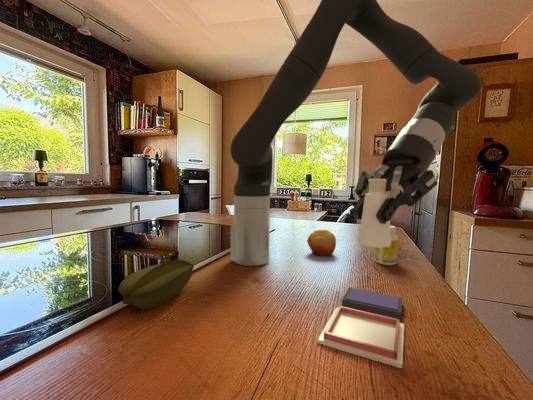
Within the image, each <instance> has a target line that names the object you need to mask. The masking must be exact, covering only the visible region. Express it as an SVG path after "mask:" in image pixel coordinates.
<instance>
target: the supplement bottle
mask: <svg viewBox="0 0 533 400" xmlns="http://www.w3.org/2000/svg"><path fill="white" fill-rule="evenodd" d="M390 229H391V245H390V247H381V248H378V247H374V256H373V257H374V261H375V263H377V264H380V265H384V266H385V265H387V266H394V265H396V264H397V262H398V261H397V259H398V246H399V245H398V244H399V243H398V242H399V237H398V235H397V234H395V233H396V230H397V228H396V226H395V225H390Z"/></svg>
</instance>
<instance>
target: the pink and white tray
mask: <svg viewBox="0 0 533 400" xmlns="http://www.w3.org/2000/svg"><path fill="white" fill-rule="evenodd" d="M404 333H405V323H401V320H400V319H395V318H391V317H387V316H382V315H378V314H374V313H369V312H365V311H360V310H356V309H352V308H347V307H343V306H342V305H339V306H337V307H336V308H335V310H334V311H333V313H332V314H331V316H330V318H329V320H328V322H327V323H326V325H325V326H324V328H323V330H322V332H321V334H320V335H319V337H318V339H317V344H319V343H320V344H319V345H322V344H323V346H325V347H329V348H333V349H336V350H339V351H342V352H345V353H349V354H352V355H355V356H359V357H362V358H366V359H368V360H372V361H375V362H378V361H379V362H378V363H381V362H382V364H386V365H388V364H389V366H391V365H392V367H394V366H395V368H399V369H401V368H402V369H403V364H404V363H403V360H404V359H403V358H404V336H405V334H404Z"/></svg>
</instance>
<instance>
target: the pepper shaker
mask: <svg viewBox="0 0 533 400" xmlns="http://www.w3.org/2000/svg"><path fill="white" fill-rule="evenodd" d="M386 182H387V180H386V179H369V193H367V194H365V199H364V206H363V212H362V219H361V220H360V227H359V232H358V240H357V243H358V244H360V245H363V246H364V247H371V248H375V247H378V248H381V247H390V245H391V229H390V226H391V219H390V220H389V221H387V222H386V224H382V223H380V222H379V221H378V219H377V217H376V214H377V212H378V210H379V209H380V207H381V206H382V204H383V203H384V201H385V200H386V198H387V199H390V197H389V195H390V194H389V193H387V192H386V193H385V189H386V188H385V187H386Z"/></svg>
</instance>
